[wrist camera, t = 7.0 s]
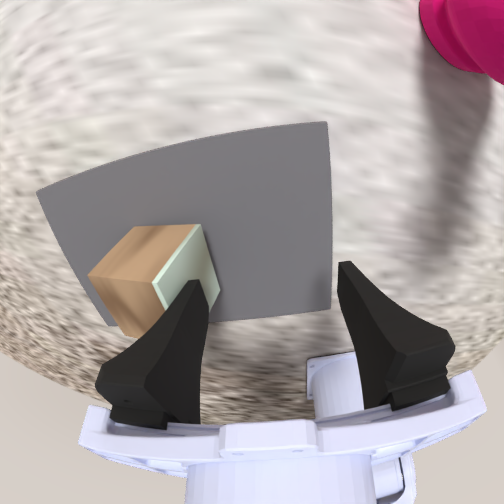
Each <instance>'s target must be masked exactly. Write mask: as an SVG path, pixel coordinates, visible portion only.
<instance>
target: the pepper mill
mask: <svg viewBox="0 0 504 504" xmlns="http://www.w3.org/2000/svg"><path fill="white" fill-rule="evenodd" d="M419 9H420V16H421V21H422V23H423V26H424V30H425V32H426V34H427V36H428V38H429V39H430V41H431V43H432V45H433V46H434V47H435V48H436V50H437V51H438V52H439V53H440V55H441V56H442V57H443V58H444V59H445V60H446V61H448V62H449V63H450V64H451V65H453V66H454V67H456V68H458V69H461V70H463V71H469V72H476V73H486V74H487V75H489V76H490V77H491V78H492V79H494V80H495V81H497V82H499V83H501V84H503V85H504V0H420V7H419Z"/></svg>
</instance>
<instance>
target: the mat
mask: <svg viewBox="0 0 504 504" xmlns="http://www.w3.org/2000/svg"><path fill="white" fill-rule="evenodd" d="M36 194H37V197H38V199H39V201H40V204H41V206H42V209H43V211H44V213H45V216H46V218H47V220H48V222H49V224H50V227H51V229H52V231H53V233H54V235H55V237H56V239H57V241H58V243H59V245H60V247H61V249H62V251H63V253H64V255H65V257H66V258H67V260H68V262H69V264H70V266H71V268H72V269H73V271H74V273H75V275H76V276H77V278H78V280H79V282H80V283H81V285H82V287H83V288H84V290H85V291H86V293H87V295H88V296H89V298H90V299H91V301H92V303H93V304H94V306H95V307H96V309H97V310H98V312H99V313H100V315H101V316H102V318H103V319H104V321H105V322H106V324H107V325H108V326H118V324H117V323H116V321H115V320H114V318H113V317H112V315H111V314H110V312H109V311H108V309H107V308H106V306H105V304H104V303H103V301H102V300H101V298H100V296H99V295H98V293H97V291H96V290H95V288H94V286H93V285H92V283H91V281H90V279H89V278H88V276H87V275H88V274H89V273H90V272H91V271H92V269H93V268H94V267H95V266H96V265H97V264H98V263H99V262H100V261H101V260H102V259H103V258H104V257H105V256H106V254H107V253H108V252H109V251H110V250H111V249H112V248H113V247H114V246H115V245H116V244H117V243H118V242H119V241H120V240H121V239H122V238H123V237H124V236H125V235H126V234H127V233H128V232H129V231H130V230H131V229H132V228H133V227H135V226H158V225H187V224H201V227H202V230H203V234H204V237H205V241H206V244H207V248H208V251H209V254H210V258H211V261H212V264H213V268H214V271H215V274H216V278H217V281H218V284H219V287H220V292H219V294H218V296H217V298H216V300H215V302H214V304H213V306H212V308H211V310H210V312H209V321H208V323H209V322H222V321H234V320H245V319H255V318H265V317H274V316H283V315H291V314H299V313H306V312H314V311H321V310H328V309H330V308H331V287H332V189H331V167H330V151H329V137H328V126H327V122H326V121H324V122H310V123H299V124H289V125H280V126H272V127H264V128H257V129H250V130H243V131H237V132H231V133H226V134H220V135H215V136H210V137H205V138H200V139H195V140H191V141H186V142H182V143H178V144H174V145H169V146H166V147H162V148H158V149H154V150H150V151H147V152H143V153H140V154H136V155H133V156H129V157H126V158H123V159H120V160H117V161H113V162H110V163H107V164H104V165H101V166H98V167H96V168H93V169H90V170H87V171H84V172H82V173H79V174H76V175H74V176H71V177H69V178H66V179H64V180H61V181H59V182H56V183H54V184H52V185H49V186H47V187H45V188H42V189H40V190H38V191H37V192H36Z"/></svg>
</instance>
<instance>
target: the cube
mask: <svg viewBox="0 0 504 504" xmlns="http://www.w3.org/2000/svg"><path fill="white" fill-rule="evenodd" d="M87 276H88V278H89V279H90V281H91V283H92V285H93V286H94V288H95V290H96V291H97V293H98V295H99V296H100V298H101V300H102V301H103V303H104V304H105V306H106V308H107V309H108V311H109V312H110V314H111V315H112V317H113V318H114V320H115V321H116V323H117V324H118V326H119V327H120V329H121V330H122V332H123V333H124V335H126V336H130V337H133V338H137V339H139V338H140V337H142V336H143V335H144V334H145V333H146V332H147V331H148V330H149V329H150V328H151V327H152V326H153V325H154V324H155V323H156V322H157V320H158V319H159V318H160V317H161V316H162V314H163V313H164V312H165V311H166V310H167V308H168V307H169V306H170V304H171V303H172V302H173V300H174V299H175V298H176V296H177V295H178V294H179V292H180V291H181V289H182V288H183V287H184V285H185V284H186V283H187V281H188V280H195V279H199V280H200V283H201V285H202V288H203V291H204V294H205V296H206V299H207V302H208V305H209V312H210V310H211V308H212V306H213V304H214V302H215V300H216V298H217V296H218V294H219V292H220V287H219V284H218V281H217V278H216V274H215V271H214V268H213V264H212V261H211V258H210V254H209V251H208V248H207V244H206V241H205V237H204V234H203V230H202V227H201V224H187V225H158V226H135V227H133V228H132V229H131V230H130V231H129V232H128V233H127V234H126V235H125V236H124V237H123V238H122V239H121V240H120V241H119V242H118V243H117V244H116V245H115V246H114V247H113V248H112V249H111V250H110V251H109V252H108V253H107V254H106V256H105V257H104V258H103V259H102V260H101V261H100V262H99V263H98V264H97V265H96V266H95V267H94V268H93V269H92V271H91V272H90V273H89V274H88V275H87Z"/></svg>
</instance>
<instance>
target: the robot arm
mask: <svg viewBox="0 0 504 504" xmlns="http://www.w3.org/2000/svg"><path fill="white" fill-rule="evenodd" d="M337 294H338V298H339V303H340V307H341V310H342V313H343V316H344V319H345V322H346V325H347V328H348V330H349V333H350V336H351V339H352V342H353V345H354V349H355V351H354V352H349V353H343V354H337V355H331V356H325V357H318V358H311V359H309V360H307V399H309V400H311V399H313V400H314V408H315V417H316V419H310V420H307V419H290V420H279V421H265V422H243V423H230V424H226V425H201V422H200V375H201V362H202V355H203V350H204V345H205V339H206V334H207V328H208V321H209V305H208V302H207V299H206V296H205V294H204V291H203V288H202V285H201V283H200V280H199V279H195V280H188V281H187V283H186V284H185V285H184V287H183V288H182V289H181V291H180V292H179V294H178V295H177V296H176V298H175V299H174V300H173V302H172V303H171V304H170V306H169V307H168V308H167V310H166V311H165V312H164V313H163V314H162V316H161V317H160V318H159V319H158V320H157V322H156V323H155V324H154V325H153V326H152V327H151V328H150V329H149V330H148V331H147V332H146V333H145V334H144V335H143V336H142V337H140V338H139V339H138V340H137V341H136V342H135V343H134V344H132V345H131V346H130V347H128V348H127V349H126V350H124V351H123V352H122V353H120V354H119V355H117V356H116V357H114V358H112V359H111V360H109V361H107V362H106V363H104V364H102V366H101V369H100V371H99V374H98V377H97V380H96V383H95V388H96V390H97V391H98V393H99V394H100V395H101V396H103V397H104V398H105V399H106V400H107V401H108V402H109V403H111V404H112V405H113V406H112V410H109V409H107V408H104V407H99V406H94V405H89V407H88V410H87V413H86V417H85V420H84V423H83V427H82V430H81V434H80V437H79V441H78V444H79V445H80V446H83V447H84V448H86V449H87V450H89V451H91V452H93V453H95V454H97V455H99V456H101V457H103V458H105V459H107V460H111V461H114V462H118V463H122V464H125V465H129V466H133V467H137V468H140V469H145V470H149V471H153V472H158V473H163V474H167V475H173V476H179V477H184V478H187V483H186V494H185V504H413V503H414V502H415V500H414V498H416V496H417V493H416V485H415V483H416V475H415V468H414V462H413V457H412V453H413V452H415V451H418V450H420V449H423V448H425V447H427V446H430V445H432V444H434V443H436V442H439V441H441V440H443V439H446V438H447V437H450V436H452V435H454V434H456V433H458V432H460V431H462V430H464V429H465V428H467V427H468V426H469V425H470V424H472V423H473V422H474V421H475V420H477V419H478V418H479V417H480V416H481V415H483V414H484V413H485V412H486V411H487V408H486V405H485V403H484V400H483V397H482V395H481V392H480V390H479V387H478V385H477V382H476V380H475V377H474V375H473V373H472V371H471V370H467V371H465V372H463V373H460V374H458V375H455V376H453V377H452V378H450V379H449V380H448V379H447V377H446V375H447V373H448V371H447V368H446V365H447V363H448V362H449V360H450V359H451V357H452V356H453V354H454V352H455V345H454V343H453V340H452V338H451V336H450V335H449V333H448V331H447V330H446V329H443V328H441V327H438V326H436V325H433V324H431V323H429V322H427V321H425V320H423V319H421V318H419V317H417V316H415V315H413V314H412V313H410V312H408V311H407V310H405V309H404V308H402V307H401V306H399V305H398V304H396V303H395V302H394V301H392V300H391V299H390V298H388V297H387V296H386V295H385V294H384V293H383V292H381V291H380V290H379V289H378V288H377V287H376V286H375V285H374V284H373V283H372V282H371V281H370V280H369V279H368V278H367V277H366V276H365V275H364V274H363V273H362V272H361V271H360V270H359V269H358V268H357V267H356V266H355V265H354V264H353V263H352V262H351V261H344V262H339V265H338V285H337ZM401 473H402V475H403V481H402V475H401Z"/></svg>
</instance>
